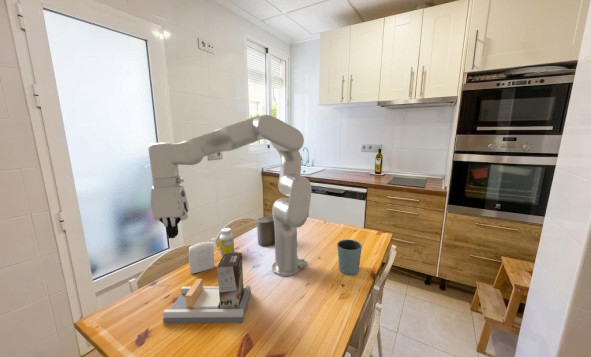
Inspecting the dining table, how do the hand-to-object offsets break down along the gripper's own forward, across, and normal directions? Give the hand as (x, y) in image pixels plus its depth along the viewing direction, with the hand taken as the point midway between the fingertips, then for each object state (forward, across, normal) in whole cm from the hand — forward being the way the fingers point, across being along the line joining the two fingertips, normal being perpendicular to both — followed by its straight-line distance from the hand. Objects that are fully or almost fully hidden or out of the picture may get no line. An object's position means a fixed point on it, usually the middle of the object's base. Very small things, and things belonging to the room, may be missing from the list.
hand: (173, 236), depth 79 cm
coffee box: (+24, -18, +1) cm, 30 cm away
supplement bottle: (+26, -6, -36) cm, 45 cm away
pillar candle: (+26, -24, -48) cm, 60 cm away
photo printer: (+26, +1, -23) cm, 34 cm away
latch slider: (+24, -10, +1) cm, 26 cm away
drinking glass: (+26, -63, -20) cm, 71 cm away
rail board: (+25, -11, +2) cm, 28 cm away
